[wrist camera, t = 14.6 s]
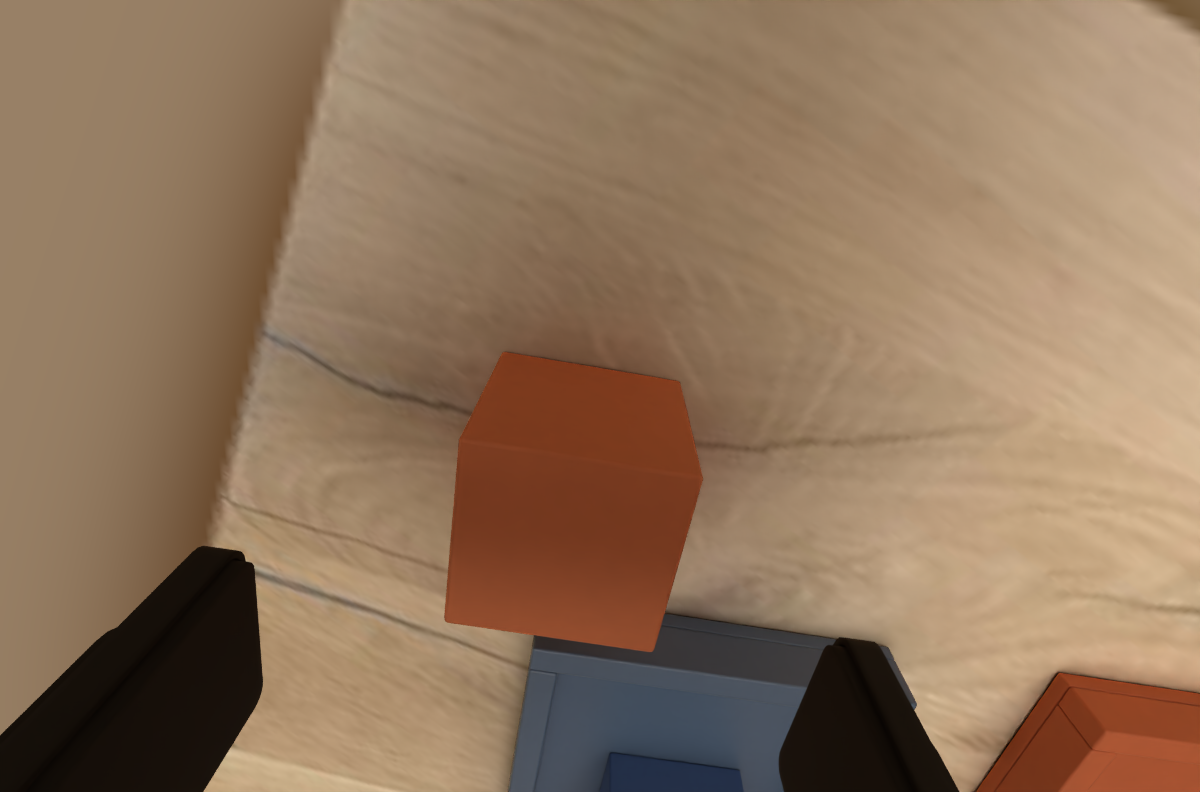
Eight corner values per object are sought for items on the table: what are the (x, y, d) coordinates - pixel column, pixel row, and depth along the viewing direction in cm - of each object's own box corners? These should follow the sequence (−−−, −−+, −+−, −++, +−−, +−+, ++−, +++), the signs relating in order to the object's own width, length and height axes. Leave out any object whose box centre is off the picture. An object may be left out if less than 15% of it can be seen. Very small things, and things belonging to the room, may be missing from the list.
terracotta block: (502, 349, 14) (458, 437, 10) (681, 380, 15) (705, 477, 11) (485, 499, 16) (443, 624, 12) (645, 524, 16) (653, 655, 12)
